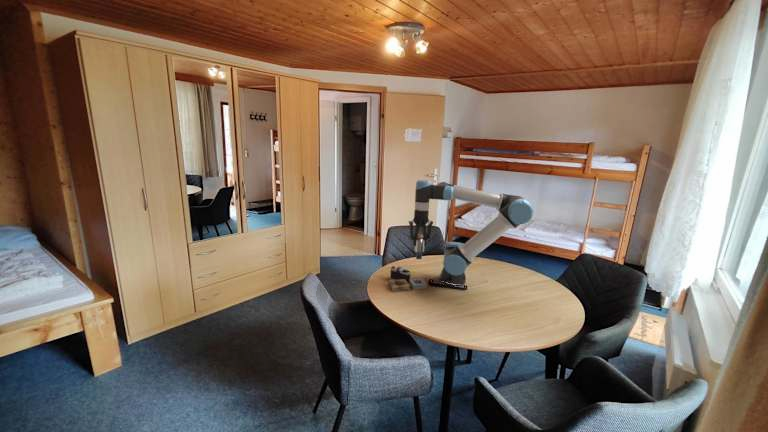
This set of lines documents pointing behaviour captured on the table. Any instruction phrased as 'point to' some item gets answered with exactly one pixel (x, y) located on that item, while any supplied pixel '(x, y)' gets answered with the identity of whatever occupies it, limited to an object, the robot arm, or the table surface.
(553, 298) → the table surface
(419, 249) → the lock pin
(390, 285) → the dock block
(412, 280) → the plate
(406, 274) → the camera
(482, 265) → the table surface
